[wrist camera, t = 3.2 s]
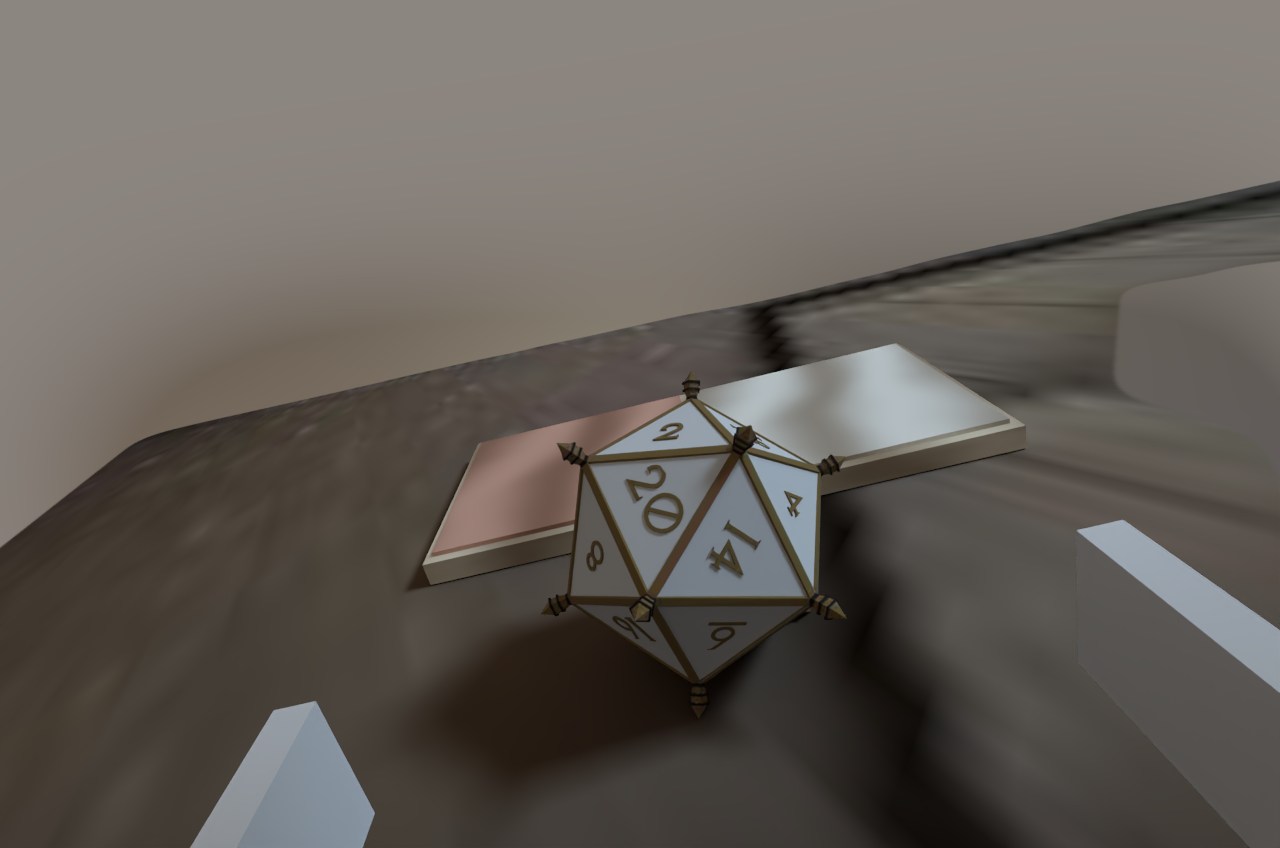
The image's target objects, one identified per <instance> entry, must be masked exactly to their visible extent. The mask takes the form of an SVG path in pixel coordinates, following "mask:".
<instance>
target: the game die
mask: <svg viewBox="0 0 1280 848" xmlns="http://www.w3.org/2000/svg"><path fill="white" fill-rule="evenodd" d="M682 385H684V390H683V392H685V395H686V400H685V401H683V402H682V403H680V404H678V405H676V406H675V407H673V408H671V409H669V410H667V411H666V412H664V413H662V414H660V415H659V416H657V417H655V418H653V419H652V420H650V421H648V422H646V423H645V424H643V425H641V426H639V427H638V428H636V429H634V430H632V431H631V432H629V433H627V434H625V435H624V436H622V437H620V438H618V439H616V440H615V441H613V442H611V443H609V444H608V445H606V446H604V447H602V448H601V449H599V450H597V451H595V452H594V453H592V454H590V455H585V453H584V452H583V451H582V449H583V448H582V447H580V448H579V447H578V446H576V443H575V442H573V443H557V445H558V447H559V449H560V451H561V453H562V458H563V460H564V461H565V460H568V461H569V462H570V464H571V465H573V464H576V465H579V466H580V472H579V482H578V492H577V502H576V512H575V521H574V531H573V541H572V551H571V561H570V571H569V581H568V590H567V594H565V595H562V596H558V595H556V597H555V598H553V599H551V598H548V600H549V601H548V603H547V605H546V606H545V608H544V610H543V612H542V613H541V614H547V615H555V616H558V615H559V614H558V613H560V612H565V611H566V608H567V607H568V606H569V605H574V606H575V607H577V608H578V609H580V610H581V611H583V612H584V613H586V614H587V615H589V616H590V617H592V618H593V619H595V620H596V621H598V622H599V623H601V624H603V625H604V626H606V627H607V628H609V629H610V630H612V631H613V632H615V633H616V634H618V635H619V636H621V637H622V638H624V639H625V640H627V641H628V642H630V643H631V644H633V645H635V646H636V647H638V648H639V649H641V650H642V651H644V652H645V653H647V654H648V655H650V656H651V657H653V658H654V659H656V660H657V661H659V662H660V663H662V664H663V665H665V666H667V667H668V668H670V669H671V670H673V671H674V672H676V673H677V674H679V675H680V676H682V677H683V678H685V679H686V680H688V681H689V682H691V683H692V685H693V687H692V692H690V696H691V701H690V703H689V705H691V706H692V708H693V709H694V711H695V713H696V715H697V717H698V719H699V718H700V716H701V714H702V713H703V711H704V709H705V707H706V706H707V705H709V702H707V696H708V695H709V694H708V693H706V690H705V687H704V685H705V682H707V681H708V680H710V679H711V678H712V677H714V676H715V675H717V674H718V673H720V672H721V671H722V670H724V669H725V668H727V667H728V666H729V665H731V664H732V663H734V662H735V661H736V660H738V659H739V658H741V657H742V656H743V655H745V654H746V653H748V652H749V651H750V650H752V649H753V648H755V647H756V646H757V645H759V644H760V643H762V642H763V641H764V640H766V639H767V638H769V637H770V636H771V635H773V634H774V633H776V632H777V631H778V630H780V629H781V628H783V627H784V626H785V625H787V624H788V623H790V622H791V621H792V620H794V619H795V618H797V617H798V616H799V615H801V614H805V613H806V612H811V609H810V608H811V607H813V608H814V609H815V610H816V611H817V613H816V614H818V615H823V616H824V617H825V618H824V619H825V620H832V619H833V618H846V617H845V615H844V613H843V612H842V610H841V608H840V607H839V604H838V601H837V599H834V600H833V599H830V598H829V595H826V596H820V595H818V574H819V539H820V504H821V477H822V476H823V475H826V474H830V475H833V472H836V471H838V472H840V467H841V465H842V463H843V462H844V460H845V458H846V457H845V456H833V455H832V454H831V455H830V456H829V457H828V458H827V459H825V458H824V459H823V460H822V461H821V463H820V464H819V465H817V466H815V465H814V464H812V463H810V462H808V461H807V460H805V459H803V458H801V457H799V456H798V455H796V454H794V453H792V452H791V451H789V450H787V449H785V448H783V447H782V446H780V445H778V444H776V443H775V442H773V441H771V440H769V439H768V438H766V437H764V436H762V435H760V434H759V433H757V432H755V431H753V429H752V426H751V425H749V426H745V425H743V424H741V423H739V422H737V421H736V420H734V419H732V418H730V417H729V416H727V415H725V414H723V413H721V412H720V411H718V410H716V409H714V408H713V407H711V406H709V405H707V404H706V403H704V402H702V401H700V400H698V398H697V395H698V393H699V392H700V388H698V386H700V381H698V380H697V378H696V377H695V375H694V374H693V372H692V371H691V372H690V374H689V375H688V377H687V379H686V380H685V382H683V383H682Z"/></svg>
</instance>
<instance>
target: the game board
mask: <svg viewBox="0 0 1280 848" xmlns="http://www.w3.org/2000/svg"><path fill="white" fill-rule="evenodd" d="M697 398H698V400H700V401H702V402H704V403H706V404H707V405H709V406H711V407H713V408H714V409H716V410H718V411H720V412H721V413H723V414H725V415H727V416H729V417H730V418H732V419H734V420H736V421H737V422H739V423H741V424H743V425H745V426H749V425H751V426H752V429H753V431H755V432H757V433H759V434H760V435H762V436H764V437H766V438H768V439H769V440H771V441H773V442H775V443H776V444H778V445H780V446H782V447H783V448H785V449H787V450H789V451H791V452H792V453H794V454H796V455H798V456H799V457H801V458H803V459H805V460H807V461H808V462H810V463H812V464H814V465H815V466H817V465H819V464H820V463H821V461H822V460H823V459H824V458H825V459H827V458H828V457H829V456H830V455H831V454H832V455H833V456H845V457H846V458H845V460H844V462H843V463H842V465H841V467H840V472H838V471H836V472H833V475H830V474H826V475H823V476H822V477H821V495H825V494H829V493H833V492H838V491H842V490H846V489H851V488H855V487H859V486H864V485H868V484H872V483H877V482H881V481H885V480H890V479H894V478H898V477H903V476H907V475H911V474H916V473H920V472H925V471H929V470H933V469H938V468H942V467H946V466H951V465H955V464H959V463H964V462H968V461H972V460H977V459H981V458H985V457H990V456H994V455H998V454H1003V453H1007V452H1011V451H1016V450H1020V449H1025V448H1026V426H1025V425H1024V424H1022V423H1021V422H1019V421H1018V420H1016V419H1015V418H1013V417H1012V416H1010V415H1008V414H1007V413H1005V412H1004V411H1002V410H1001V409H999V408H998V407H996V406H995V405H993V404H991V403H990V402H988V401H987V400H985V399H984V398H982V397H981V396H979V395H978V394H976V393H974V392H973V391H971V390H970V389H968V388H967V387H965V386H964V385H962V384H961V383H959V382H957V381H956V380H954V379H953V378H951V377H950V376H948V375H947V374H945V373H944V372H942V371H940V370H939V369H937V368H936V367H934V366H933V365H931V364H930V363H928V362H927V361H925V360H923V359H922V358H920V357H919V356H917V355H916V354H914V353H913V352H911V351H910V350H908V349H906V348H905V347H903V346H902V345H900V344H899V343H897V344H891V345H887V346H883V347H879V348H875V349H871V350H866V351H862V352H858V353H854V354H850V355H846V356H841V357H837V358H833V359H829V360H825V361H820V362H816V363H812V364H808V365H804V366H800V367H795V368H791V369H787V370H783V371H779V372H775V373H770V374H766V375H762V376H758V377H754V378H750V379H745V380H741V381H737V382H733V383H729V384H724V385H720V386H716V387H712V388H708V389H704V390H700V392H699V393H698V395H697ZM685 400H686V395H685V394H684V395H680V396H674V397H670V398H666V399H662V400H658V401H654V402H649V403H645V404H641V405H637V406H633V407H628V408H624V409H620V410H616V411H612V412H608V413H603V414H599V415H595V416H591V417H587V418H583V419H578V420H574V421H570V422H566V423H562V424H558V425H553V426H549V427H545V428H541V429H537V430H532V431H528V432H524V433H520V434H516V435H512V436H507V437H503V438H499V439H495V440H491V441H487V442H482V443H480V444H478V446H477V448H476V450H475V452H474V455H473V457H472V459H471V461H470V463H469V465H468V468H467V470H466V472H465V474H464V476H463V478H462V481H461V483H460V485H459V487H458V489H457V491H456V494H455V496H454V498H453V500H452V502H451V504H450V507H449V509H448V511H447V513H446V515H445V517H444V520H443V522H442V524H441V526H440V528H439V530H438V532H437V535H436V537H435V539H434V541H433V543H432V545H431V548H430V550H429V552H428V554H427V556H426V558H425V561H424V563H423V565H422V566H423V568H424V570H425V573H426V575H427V578H428V580H429V582H430V585H433V584H438V583H442V582H446V581H451V580H455V579H459V578H464V577H468V576H472V575H477V574H481V573H485V572H490V571H494V570H498V569H503V568H507V567H512V566H516V565H520V564H525V563H529V562H533V561H538V560H542V559H546V558H551V557H555V556H559V555H564V554H568V553H571V551H572V541H573V531H574V521H575V512H576V502H577V492H578V482H579V472H580V466H579V465H576V464H573V465H571V464H570V462H569V461H568V460H565V461H564V460H563V458H562V453H561V451H560V449H559V447H558V445H557V443H573V442H575V443H576V446H578V447H579V448H580V447H582V448H583V449H582V451H583V452H584V453H585V455H590V454H592V453H594V452H595V451H597V450H599V449H601V448H602V447H604V446H606V445H608V444H609V443H611V442H613V441H615V440H616V439H618V438H620V437H622V436H624V435H625V434H627V433H629V432H631V431H632V430H634V429H636V428H638V427H639V426H641V425H643V424H645V423H646V422H648V421H650V420H652V419H653V418H655V417H657V416H659V415H660V414H662V413H664V412H666V411H667V410H669V409H671V408H673V407H675V406H676V405H678V404H680V403H682V402H683V401H685Z"/></svg>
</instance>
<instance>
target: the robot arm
mask: <svg viewBox="0 0 1280 848" xmlns="http://www.w3.org/2000/svg"><path fill="white" fill-rule="evenodd" d="M1076 554H1077V662H1078V663H1079V664H1080V665H1081V666H1082V667H1083V668H1084V669H1085V671H1086V672H1087V673H1088V674H1089V675H1090V676H1091V677H1092V678H1093V679H1094V680H1095V681H1096V682H1097V683H1098V685H1099V686H1100V687H1101V688H1102V689H1103V690H1104V691H1105V692H1106V693H1107V694H1108V695H1109V696H1110V698H1111V699H1112V700H1113V701H1114V702H1115V703H1116V704H1117V705H1118V706H1119V707H1120V708H1121V709H1122V710H1123V712H1124V713H1125V714H1126V715H1127V716H1128V717H1129V718H1130V719H1131V720H1132V721H1133V722H1134V723H1135V724H1136V726H1137V727H1138V728H1139V729H1140V730H1141V731H1142V732H1143V733H1144V734H1145V735H1146V736H1147V737H1148V738H1149V740H1150V741H1151V742H1152V743H1153V744H1154V745H1155V746H1156V747H1157V748H1158V749H1159V750H1160V751H1161V752H1162V754H1163V755H1164V756H1165V757H1166V758H1167V759H1168V760H1169V761H1170V762H1171V763H1172V764H1173V765H1174V766H1175V768H1176V769H1177V770H1178V771H1179V772H1180V773H1181V774H1182V775H1183V776H1184V777H1185V778H1186V779H1187V781H1188V782H1189V783H1190V784H1191V785H1192V786H1193V787H1194V788H1195V789H1196V790H1197V791H1198V792H1199V793H1200V795H1201V796H1202V797H1203V798H1204V799H1205V800H1206V801H1207V802H1208V803H1209V804H1210V805H1211V806H1212V807H1213V809H1214V810H1215V811H1216V812H1217V813H1218V814H1219V815H1220V816H1221V817H1222V818H1223V819H1224V820H1225V821H1226V823H1227V824H1228V825H1229V826H1230V827H1231V828H1232V829H1233V830H1234V831H1235V832H1236V833H1237V834H1238V835H1239V837H1240V838H1241V839H1242V840H1243V841H1244V842H1245V843H1246V844H1247V845H1248V846H1249V847H1250V848H1280V630H1279V629H1277V628H1276V627H1274V626H1273V625H1272V624H1270V623H1269V622H1267V621H1266V620H1265V619H1263V618H1262V617H1260V616H1259V615H1257V614H1256V613H1255V612H1253V611H1252V610H1250V609H1249V608H1248V607H1246V606H1245V605H1243V604H1242V603H1240V602H1239V601H1238V600H1236V599H1235V598H1233V597H1232V596H1231V595H1229V594H1228V593H1226V592H1225V591H1223V590H1222V589H1221V588H1219V587H1218V586H1216V585H1215V584H1214V583H1212V582H1211V581H1209V580H1208V579H1206V578H1205V577H1204V576H1202V575H1201V574H1199V573H1198V572H1196V571H1195V570H1194V569H1192V568H1191V567H1189V566H1188V565H1187V564H1185V563H1184V562H1182V561H1181V560H1179V559H1178V558H1177V557H1175V556H1174V555H1172V554H1171V553H1170V552H1168V551H1167V550H1165V549H1164V548H1162V547H1161V546H1160V545H1158V544H1157V543H1155V542H1154V541H1153V540H1151V539H1150V538H1148V537H1147V536H1145V535H1144V534H1143V533H1141V532H1140V531H1138V530H1137V529H1136V528H1134V527H1133V526H1131V525H1130V524H1128V523H1127V522H1126V521H1124V520H1120V521H1116V522H1112V523H1107V524H1103V525H1098V526H1094V527H1089V528H1085V529H1080V530H1076ZM374 814H375V813H374V811H373V809H372V807H371V805H370V803H369V801H368V799H367V797H366V796H365V794H364V792H363V790H362V788H361V786H360V784H359V782H358V780H357V779H356V777H355V775H354V773H353V771H352V769H351V767H350V765H349V763H348V761H347V760H346V758H345V756H344V754H343V752H342V750H341V748H340V746H339V744H338V743H337V741H336V739H335V737H334V735H333V733H332V731H331V729H330V727H329V726H328V724H327V722H326V720H325V718H324V716H323V714H322V712H321V710H320V709H319V707H318V705H317V703H316V701H314V702H310V703H305V704H301V705H296V706H292V707H287V708H283V709H278V710H274V711H273V712H272V714H271V716H270V717H269V719H268V721H267V722H266V724H265V726H264V727H263V729H262V731H261V732H260V734H259V735H258V737H257V739H256V740H255V742H254V744H253V745H252V747H251V749H250V750H249V752H248V754H247V755H246V757H245V758H244V760H243V762H242V763H241V765H240V767H239V768H238V770H237V772H236V773H235V775H234V777H233V778H232V780H231V782H230V783H229V785H228V786H227V788H226V790H225V791H224V793H223V795H222V796H221V798H220V800H219V801H218V803H217V805H216V806H215V808H214V809H213V811H212V813H211V814H210V816H209V818H208V819H207V821H206V823H205V824H204V826H203V828H202V829H201V831H200V833H199V834H198V836H197V837H196V839H195V841H194V842H193V844H192V846H191V847H190V848H362V847H363V845H364V842H365V839H366V836H367V833H368V831H369V828H370V825H371V822H372V820H373V817H374Z"/></svg>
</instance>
